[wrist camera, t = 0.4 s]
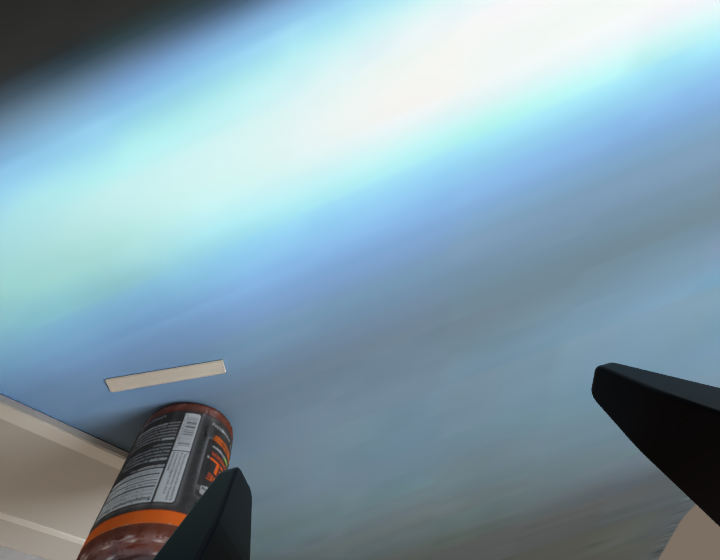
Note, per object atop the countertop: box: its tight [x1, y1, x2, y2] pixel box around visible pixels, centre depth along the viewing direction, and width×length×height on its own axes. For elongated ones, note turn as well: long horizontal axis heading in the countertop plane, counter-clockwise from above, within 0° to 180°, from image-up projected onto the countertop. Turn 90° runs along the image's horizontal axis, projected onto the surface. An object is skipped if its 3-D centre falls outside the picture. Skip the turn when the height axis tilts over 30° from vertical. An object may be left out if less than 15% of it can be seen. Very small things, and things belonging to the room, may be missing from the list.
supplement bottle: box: [77, 403, 233, 560], centre depth 19 cm, size 6×6×11 cm
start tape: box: [105, 360, 226, 392], centre depth 22 cm, size 1×7×1 cm, turn 94°
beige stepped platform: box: [0, 394, 129, 560], centre depth 23 cm, size 16×12×1 cm
